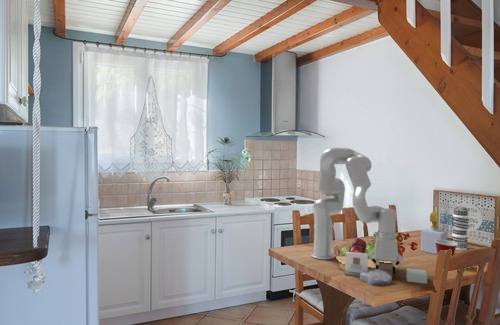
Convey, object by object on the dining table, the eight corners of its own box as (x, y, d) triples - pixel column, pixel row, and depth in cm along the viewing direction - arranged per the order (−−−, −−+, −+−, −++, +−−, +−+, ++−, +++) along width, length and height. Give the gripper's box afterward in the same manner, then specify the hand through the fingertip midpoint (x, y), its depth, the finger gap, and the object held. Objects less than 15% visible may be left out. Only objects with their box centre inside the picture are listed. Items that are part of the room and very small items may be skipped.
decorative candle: (447, 247, 239) (449, 206, 238) (455, 245, 245) (456, 205, 244) (463, 251, 232) (464, 208, 231) (470, 248, 238) (472, 207, 237)
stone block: (393, 286, 174) (376, 275, 182) (395, 277, 173) (378, 266, 181) (373, 291, 168) (357, 280, 177) (375, 281, 167) (359, 270, 176)
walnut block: (378, 272, 187) (378, 260, 186) (391, 274, 185) (391, 261, 185) (378, 276, 181) (378, 263, 181) (392, 278, 179) (392, 265, 179)
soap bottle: (446, 254, 224) (448, 213, 223) (440, 255, 220) (442, 214, 219) (426, 249, 234) (427, 210, 233) (420, 251, 230) (421, 211, 229)
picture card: (345, 271, 188) (345, 250, 188) (367, 273, 185) (367, 252, 185) (344, 275, 182) (345, 253, 182) (367, 277, 179) (367, 255, 179)
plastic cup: (457, 268, 196) (458, 245, 196) (433, 265, 201) (434, 242, 200) (456, 263, 206) (457, 240, 205) (433, 260, 210) (434, 238, 210)
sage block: (406, 276, 183) (406, 268, 183) (425, 278, 180) (425, 270, 180) (407, 281, 175) (407, 273, 175) (426, 284, 173) (427, 275, 173)
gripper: (367, 235, 181) (365, 274, 182) (407, 238, 176) (405, 278, 177) (367, 232, 188) (365, 269, 189) (405, 235, 184) (404, 273, 184)
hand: (385, 273), depth 183 cm, fingers closed on walnut block, 6 cm apart
